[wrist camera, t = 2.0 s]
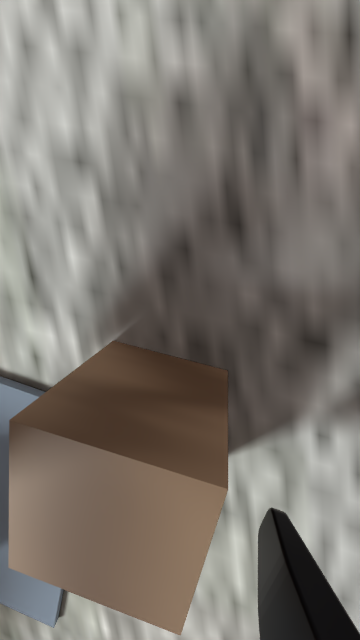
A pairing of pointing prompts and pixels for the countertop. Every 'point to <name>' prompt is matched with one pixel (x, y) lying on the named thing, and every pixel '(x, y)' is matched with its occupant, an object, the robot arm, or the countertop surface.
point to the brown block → (121, 481)
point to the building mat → (4, 583)
